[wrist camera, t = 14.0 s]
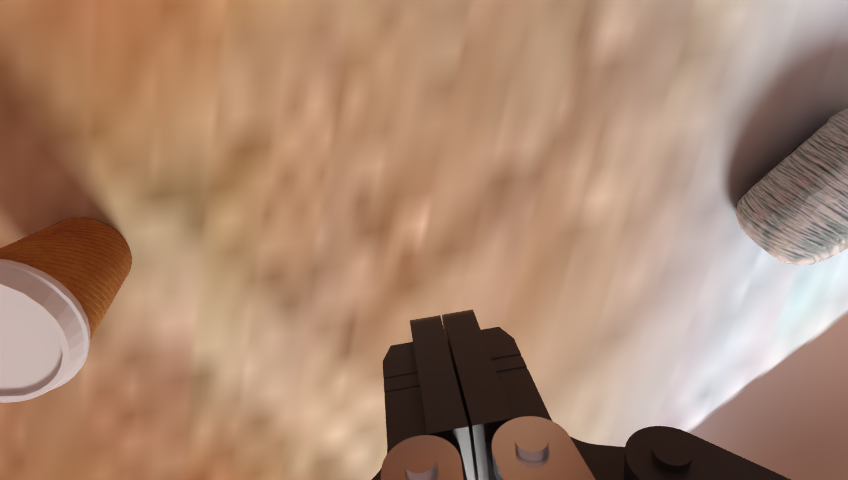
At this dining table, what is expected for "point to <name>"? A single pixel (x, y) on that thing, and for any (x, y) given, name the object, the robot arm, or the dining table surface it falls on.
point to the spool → (803, 199)
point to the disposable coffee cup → (55, 302)
